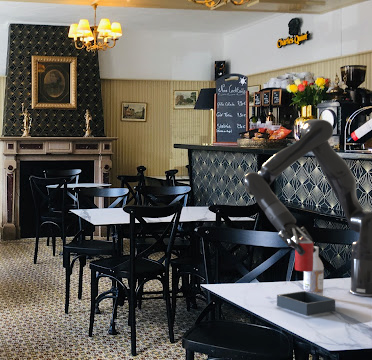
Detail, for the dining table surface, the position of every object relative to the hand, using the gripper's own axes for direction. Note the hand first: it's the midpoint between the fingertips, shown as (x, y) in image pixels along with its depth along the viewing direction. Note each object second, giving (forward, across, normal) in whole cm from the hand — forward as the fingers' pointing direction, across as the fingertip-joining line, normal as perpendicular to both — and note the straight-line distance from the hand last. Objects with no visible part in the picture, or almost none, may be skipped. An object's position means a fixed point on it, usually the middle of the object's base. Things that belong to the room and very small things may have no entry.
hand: (308, 253), depth 212 cm
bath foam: (+9, +18, +21) cm, 29 cm away
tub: (+15, -1, +15) cm, 21 cm away
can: (+3, 0, +6) cm, 7 cm away
